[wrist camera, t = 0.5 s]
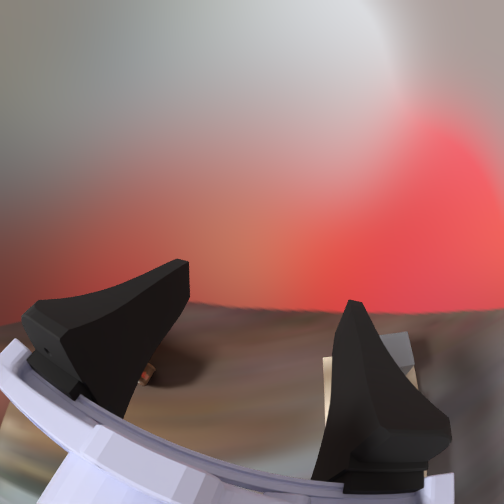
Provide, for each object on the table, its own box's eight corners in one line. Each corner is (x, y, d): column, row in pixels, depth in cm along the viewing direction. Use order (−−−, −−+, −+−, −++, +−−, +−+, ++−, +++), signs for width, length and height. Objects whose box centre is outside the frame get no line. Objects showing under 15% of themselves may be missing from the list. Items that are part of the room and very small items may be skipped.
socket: (399, 382, 23) (414, 364, 20) (344, 390, 24) (351, 373, 21) (394, 353, 26) (407, 331, 22) (342, 360, 27) (347, 338, 23)
